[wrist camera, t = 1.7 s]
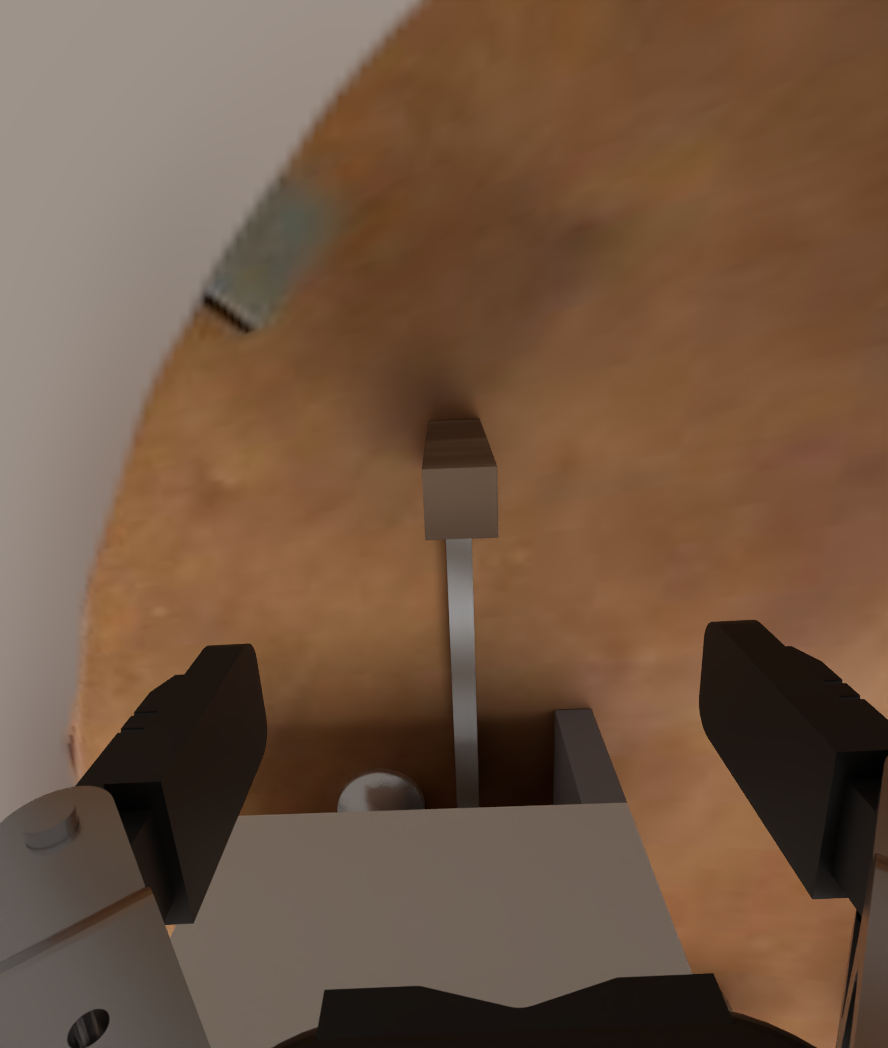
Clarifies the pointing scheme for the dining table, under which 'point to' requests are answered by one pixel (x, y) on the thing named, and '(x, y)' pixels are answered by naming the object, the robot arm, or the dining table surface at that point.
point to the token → (380, 792)
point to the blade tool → (461, 563)
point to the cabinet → (429, 903)
